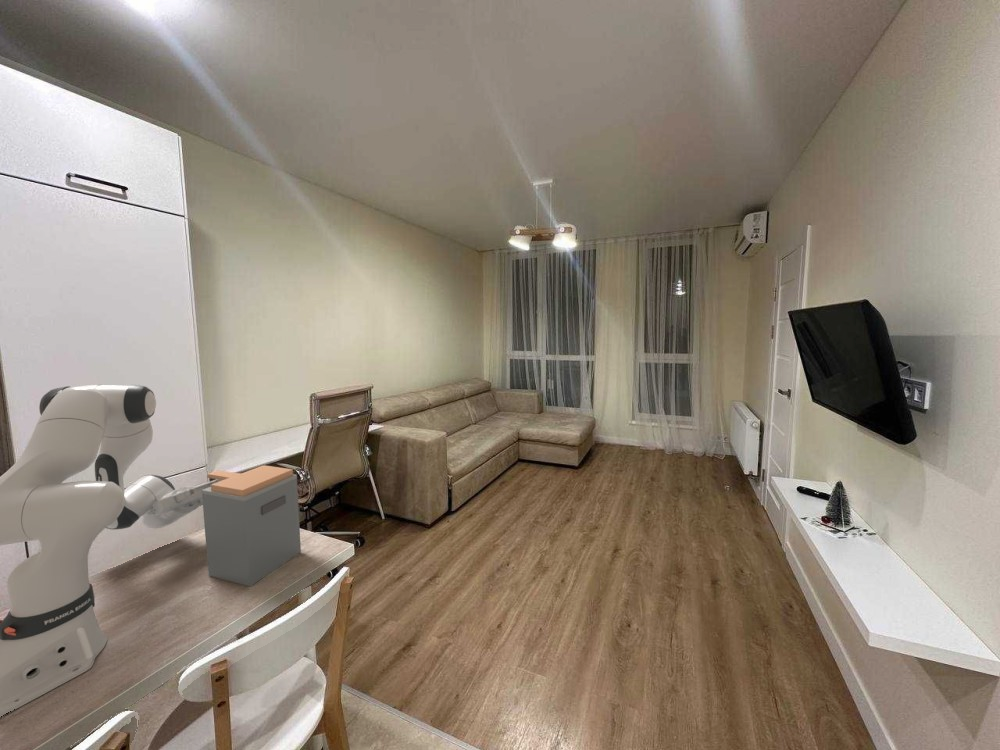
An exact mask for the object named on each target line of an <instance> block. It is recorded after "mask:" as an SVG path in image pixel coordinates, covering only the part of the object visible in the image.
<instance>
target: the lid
mask: <svg viewBox="0 0 1000 750" xmlns="http://www.w3.org/2000/svg"><path fill="white" fill-rule="evenodd" d="M293 474H294V469H293V468H286V467H279V466H271V465H264V464H263V465H261V466H258V467H255V468H253V469H249V470H247V471H245V472H241V473H238V472H231V471H226V470H220V469H217V470H214V471H212V472H209V473H207V474H206V477H207V478H208V479H213V480H216V479H218V480H222V481H219V482H217V483H214V484H211V491H215V492H221V493H226V494H232V495H237V496H245V495H248V494H250V493H252V492H255V491H257V490H259V489H261V488H264V487H266V486H268V485H271V484H273V483H275V482H278V481H280V480H282V479H285V478H287V477H289V476H292V475H293Z"/></svg>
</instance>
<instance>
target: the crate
mask: <svg viewBox="0 0 1000 750" xmlns="http://www.w3.org/2000/svg"><path fill="white" fill-rule="evenodd" d="M298 488H299V487H298V474H294V473H293V475H292V476H289V477H287V478H285V479H282V480H280V481H278V482H275V483H273V484H271V485H268V486H266V487H264V488H261V489H259V490H257V491H255V492H252V493H250V494H248V495H245V496H237V495H232V494H226V493H221V492H215V491H211V487H209V488H206V489H203V490H202V500H203V505H202V511H203V522H204V523H203V524H204V536H205V548H206V560H207V573H208V577H209V576H210V577H213V578H217V579H220V580H224V581H229V582H232V583H234V584H235V583H236V584H239V585H242V586H247V587H252V586H253V585H254V584H256V583H257V582H259V581H260V580H262V579H263V578H265V577H267V576H268V575H270V574H271V573H272V572H274V571H275V570H277V569H279V568H280V567H281V566H283V565H284V564H285V563H287V562H289V561H290V560H292V559H293V558H294V557H296V556H297V555H299V554H300V553H301V551H302V550H301V548H302V547H301V545H302V544H301V531H300V529H301V528H300V514H299V511H300V509H299V508H300V507H299V492H298Z"/></svg>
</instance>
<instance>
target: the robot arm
mask: <svg viewBox="0 0 1000 750" xmlns="http://www.w3.org/2000/svg"><path fill="white" fill-rule="evenodd" d="M154 393H155V392H153V390H151V389H150V388H149V387H148V386H146V385H145V386H144V385H140V384H139V385H138V384H131V385H124V384H122V385H121V384H89V385H87V384H86V385H77V386H62V387H56V388H52V389H50V390H49V391H47V392H46V393H45V394H44V395H43V396H42V397H41V399H40V401H39V413H40V416H39V419H38V421H37V423H36V425H35V428H34V430H33V432H32V434H31V435H30V436H31V437H30V439H29V441H28V442H27V445H26V447H25V449H24V450H23V452H22V453H21V454H20V456H19V458H18V459H17V461H15V463H13V465H12V466H11V467H10V468H9V469H8V470H6V472H4V473H3V474H2V475H0V546H7V545H13V544H19V543H25V542H27V543H28V542H32V541H36V542H37V541H38V542H40V551H39V552H36V553H34V554H32V555H31V556H29V557H27V558H25V559H24V560H22V561H21V562H19V563H18V564H17V565H16V566H15V567H13V568H12V570H11V571H10V572H9V574H8V576H7V578H6V582H5V583H6V584H5V585H6V592H7V599H8V605H9V611H8V613H7V614H6V615H5V617H4V618H3V620H2V619H0V718H2V717H4V716H5V715H4V714H6V713H8V712H9V713H11V712H13V711H15V710H17V709H18V708H20V707H23V706H25V705H26V704H27V703H29V702H32V701H33V700H36V699H37V698H39V697H41V696H42V695H45V694H46V693H48V692H50V691H53V689H56V688H58V687H59V686H61V685H64V684H65V683H67V682H68V681H70V680H73V679H74V678H76V677H78V676H80V675H82V674H83V673H86V672H88V671H89V670H90V669H91V668H92V667H93V665H94V663H95V659H96V657H97V656H98V655H99V654H100V653H101V652H102V651H103V650H104V648H105V647H106V644H107V637H106V634H105V633H104V631H103V630H102V629H101V626H100V625H99V622H98V619H97V616H96V613H95V609H94V608H95V605H96V604H95V592H94V587H93V585H92V583H91V582H90V577H89V553H90V549H91V547H92V545H93V543H94V541H95V540H96V539H97V537H98V536H99V535H100V533H102V532H103V531H104V530H105V529H107V530H115V531H117V530H122V529H128V528H131V527H132V526H133V525H134V524H135V523H136V522H137V521H138V520H139V519H140V518H141V517H142V518H141V520H142V524H143V525H144V527H147V528H149V529H155V530H156V529H162V528H165V527H168V526H170V525H172V524H174V523H175V522H177V521H179V520H180V519H182V518H184V517H186V516H187V515H188V514H190V513H192V512H194V511H195V510H197V509H199V507H201V506H203V500H202V490H203V489H206V488H209V487H211V484H214V483H217V482H219V481H222V480H218V479H213V480H210V481H208V482H203V483H199V484H196V485H190V486H183V487H178V488H175V486H174V484H173V483H171V481H170V480H168V479H167V478H166V477H164V476H161V475H156V474H147V475H143V476H141V477H139V479H137V480H136V481H134V482H132V483H131V484H130V485H128V486H127V487H126V488H125V483H124V476H125V474H126V471H127V470H128V469H129V467H131V465H133V463H134V462H135V460H136V459H138V458H139V457H140V455H142V454H143V453H144V452H145V451H146V450H147V449H148V447H149V446H150V445H151V443H152V441H153V435H154V433H153V427H152V422H151V420H150V418H152V416H154V414H155V411H156V407H157V400H156V396H155V394H154ZM93 463H94V477H95V478H94V479H95V480H78V481H69V482H64V481H66V480H67V479H69V478H71V477H73V476H75V475H78V474H79V473H81V472H83V471H85V470H87V469H88V468H89V467H90V466H92V464H93ZM14 709H15V710H14ZM10 711H11V712H10ZM9 713H8V714H9ZM3 715H4V716H3ZM6 715H7V714H6ZM1 716H2V717H1Z"/></svg>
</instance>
